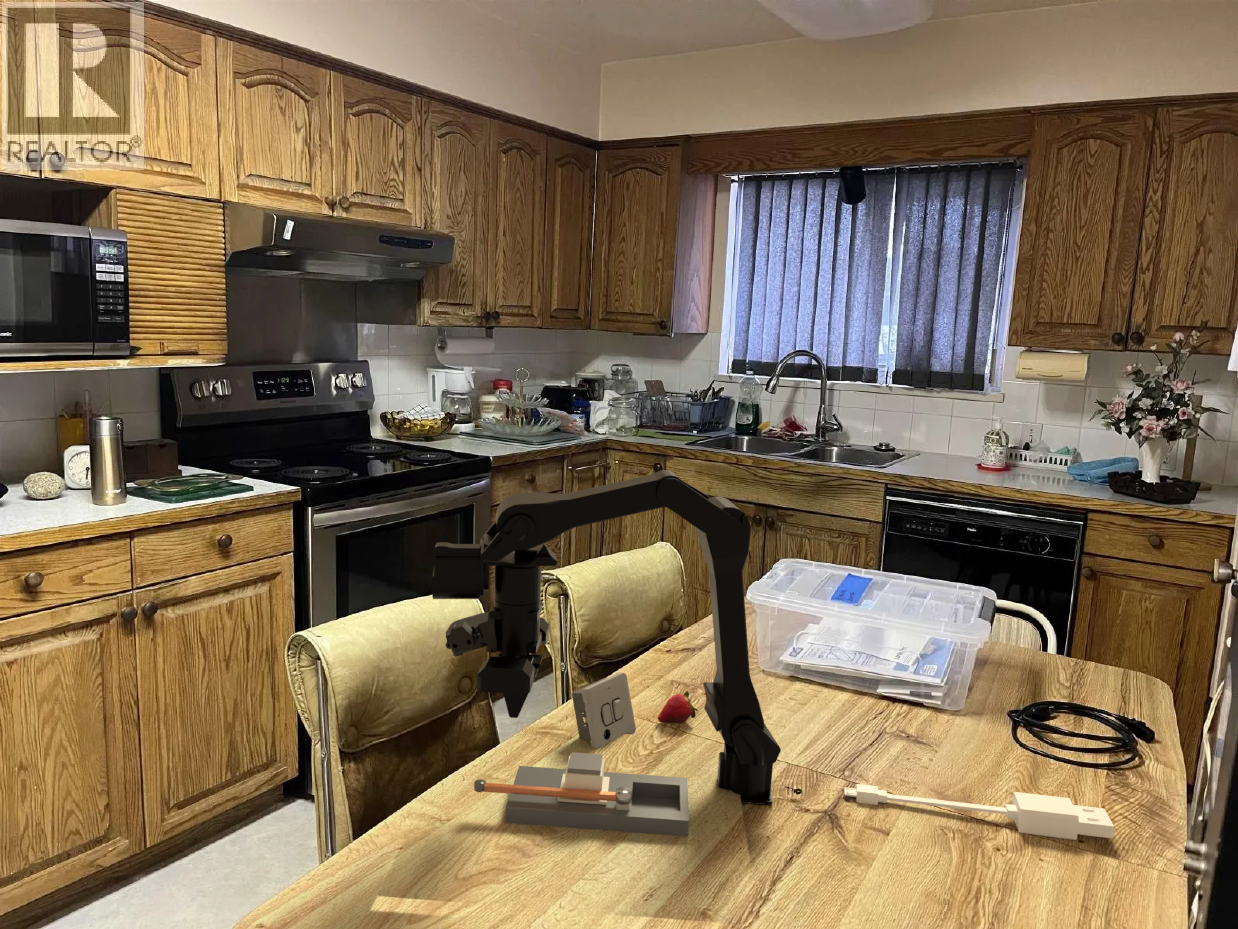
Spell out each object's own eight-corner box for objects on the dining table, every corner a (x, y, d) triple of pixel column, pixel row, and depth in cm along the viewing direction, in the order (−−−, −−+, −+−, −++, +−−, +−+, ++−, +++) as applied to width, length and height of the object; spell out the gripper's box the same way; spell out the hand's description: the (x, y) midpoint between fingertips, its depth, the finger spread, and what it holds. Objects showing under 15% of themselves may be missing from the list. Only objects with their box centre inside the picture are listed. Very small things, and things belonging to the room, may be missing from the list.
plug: (608, 794, 118) (611, 751, 116) (605, 820, 112) (608, 775, 111) (562, 791, 118) (564, 748, 117) (557, 817, 112) (558, 771, 111)
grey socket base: (685, 799, 119) (687, 772, 119) (687, 843, 109) (689, 815, 109) (518, 787, 120) (519, 760, 120) (505, 830, 110) (506, 801, 110)
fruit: (653, 717, 142) (654, 687, 141) (690, 715, 144) (691, 685, 143) (659, 730, 138) (661, 699, 137) (697, 728, 140) (699, 697, 139)
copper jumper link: (631, 796, 112) (632, 787, 112) (631, 805, 110) (631, 796, 110) (475, 785, 113) (476, 776, 113) (472, 794, 111) (472, 784, 111)
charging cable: (843, 794, 125) (844, 771, 124) (1101, 824, 118) (1103, 800, 117) (844, 813, 120) (845, 789, 119) (1113, 846, 113) (1115, 821, 113)
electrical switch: (596, 756, 129) (594, 693, 128) (569, 747, 133) (567, 685, 132) (637, 734, 137) (635, 674, 136) (610, 726, 140) (608, 667, 139)
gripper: (468, 572, 122) (466, 682, 125) (433, 620, 104) (432, 747, 106) (551, 577, 122) (547, 687, 124) (531, 626, 103) (527, 754, 106)
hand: (513, 716), depth 115 cm, fingers closed
